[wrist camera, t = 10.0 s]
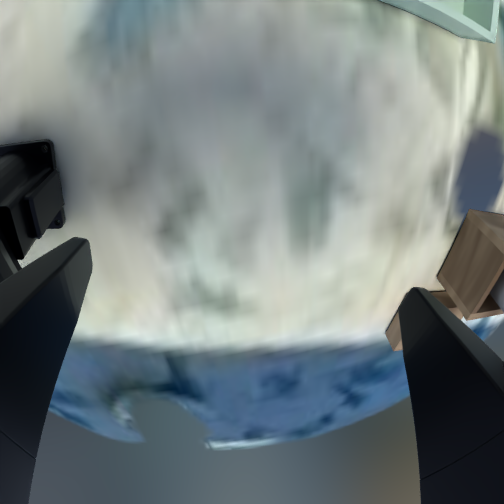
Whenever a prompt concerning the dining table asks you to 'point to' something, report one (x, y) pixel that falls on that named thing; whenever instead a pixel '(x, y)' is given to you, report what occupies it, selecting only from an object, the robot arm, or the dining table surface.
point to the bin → (477, 266)
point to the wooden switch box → (394, 328)
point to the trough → (457, 16)
